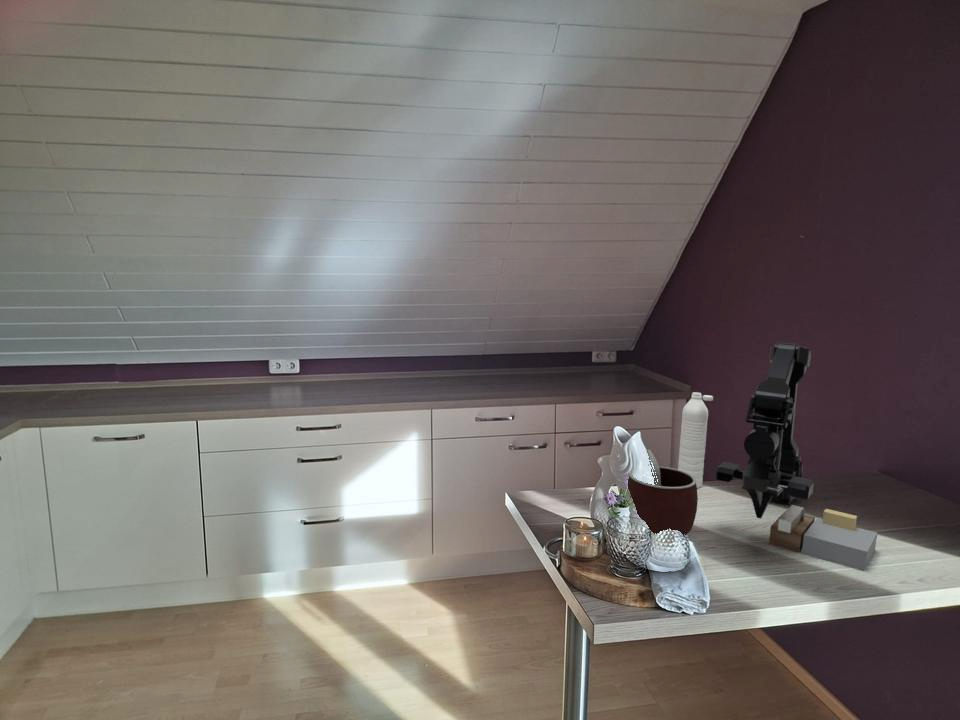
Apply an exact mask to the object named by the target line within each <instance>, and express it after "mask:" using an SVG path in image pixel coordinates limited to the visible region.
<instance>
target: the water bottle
mask: <svg viewBox="0 0 960 720" xmlns="http://www.w3.org/2000/svg"><path fill="white" fill-rule="evenodd" d="M704 401H706V402H707V401H708V402H709V401H710V402H712V401H714V396H713V395H709V394H708V395H707V394H704V395H702V393H701V392H698V391H695V392H693V391H692V393H691V398H690V399H689V400H688V401H687V402H686V404H685V405H684V407H683V409H682V413H681V415H682V416H681V418H682V419H681V428H680V430H681V431H680V437H679V438H680V439H679V451H678V452H679V453H678V463H677V469H678V470H681V471H684V472H687V473H689V474H691V475H692V476H694V477H695V478H696V486H697V489H698V488H699V489H700V488H701V487H702V486H703V481H704V480H703V478H704V477H703V476H704V468H705V462H704V461H705V456H706V455H705V454H706V447H707V446H706V445H707V444H706V443H707V433H708V432H707V430H708V420H709V409H708V408H707V406H706V404H705V402H704Z"/></svg>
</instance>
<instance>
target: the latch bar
mask: <svg viewBox="0 0 960 720" xmlns="http://www.w3.org/2000/svg"><path fill="white" fill-rule="evenodd" d="M786 510H787V511H786ZM786 510H785V511H786V512H785V511H784V512H785V513H784V512H783V513H784V514H783V513H782V514H783V515H782V514H781V515H782V516H781V515H780V516H781V517H780V516H779V517H780V519H779V524H778V530H780V531H784V532H788V533H791V532H792V530H793V529H794V528H795V527H796V526H797V524H798V523H799V522H800V521H803V520H804V515H805V513H806V510H805V507H803V506H799V505H795V504H791V505H789V506H788V508H787V509H786Z"/></svg>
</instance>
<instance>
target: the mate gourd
mask: <svg viewBox="0 0 960 720" xmlns="http://www.w3.org/2000/svg"><path fill="white" fill-rule="evenodd" d="M646 453H647V460H648V459H649V460H651V461H649V462H650V465H651V467H652V464H651V462H652V463H653V466H654V469H655V470H654V469H653V467H652V469H653V472H654V475H653V473H652V476H653V477H654V476H655V478H654V484H655V485H652V484H648V483H644V482H642V481H639V480H637V479H636V478H634V477H633V475H632V473H628V477H629V479H628V478H627V480H628V489H629V491H630V494H631V497H632V499H633V502H634V504H635V507H636V510H637V514H638V515H639V517H640V518H641V519H642V520H644V521H645V522H646V524H647V525H648V527H649V529H650V530H651V531H652V532H653V533H654V534H655V533H656V534H657V533H659V532H660V531H663V530H667V529H669V528H670V529H671V530H678V531H680V532H681V533H682V534H683V535H684V534H685V535H686V536H687V535H688V534H689V533H690V532H692V529H693V526H694V524H695V519H696V515H697V511H698V500H699V497H698V488H697V486H696V478H695V477H694V476H692V475H691V474H689V473H687V472H684V471H681V470H678V468H672V467H669V466H659V463H658V461H657V459H656V457H655V455H654V454H653V452H652V450H651V449H646ZM648 456H649V458H648ZM652 469H651V472H652ZM655 472H656V473H655ZM655 474H656V475H655ZM656 476H657V478H656ZM657 479H658V482H657ZM655 481H656V482H655ZM656 483H657V484H656Z"/></svg>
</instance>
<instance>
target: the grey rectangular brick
mask: <svg viewBox="0 0 960 720" xmlns="http://www.w3.org/2000/svg"><path fill="white" fill-rule="evenodd" d="M822 515H823V516H822V518H820V517H817V518H815V520H814V523H813V524H812V525H811V527H810V528H809V529H808V530H807V532H806V533H805V534H804V538H803V547H802V549H801V554H803V555H806V556H810V557H814V558H817V559H821V560H825V561H828V562H832V563H835V564H838V565H842V566H846V567H849V568H853V569H857V570H860V571H864V572H865V571H866V570H867V567H868V566H869V564H870V561H871V560H872V558H873V555H874V554H875V551H876V545H877V537H878V532H876V531H872V530H867V529H863V528H861V527H856V526H857V518H858V516H857V515H854V514H850V513H846V512H842V511H841V512H840V511H837V510H832V509H829V508H825V509H824V510H823V513H822Z"/></svg>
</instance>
